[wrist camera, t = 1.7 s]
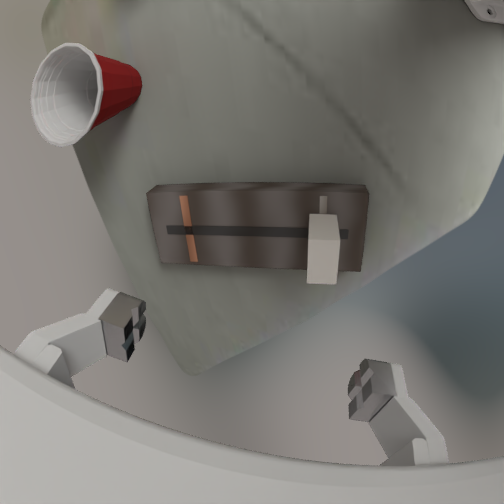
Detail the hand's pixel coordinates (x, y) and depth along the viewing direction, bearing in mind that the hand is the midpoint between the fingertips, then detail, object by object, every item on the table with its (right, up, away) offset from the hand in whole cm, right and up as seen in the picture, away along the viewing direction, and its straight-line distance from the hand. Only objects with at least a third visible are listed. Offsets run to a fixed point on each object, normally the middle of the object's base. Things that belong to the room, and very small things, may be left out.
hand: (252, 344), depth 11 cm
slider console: (+1, +7, +29) cm, 30 cm away
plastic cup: (-16, +24, +22) cm, 37 cm away
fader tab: (+8, +5, +24) cm, 26 cm away
